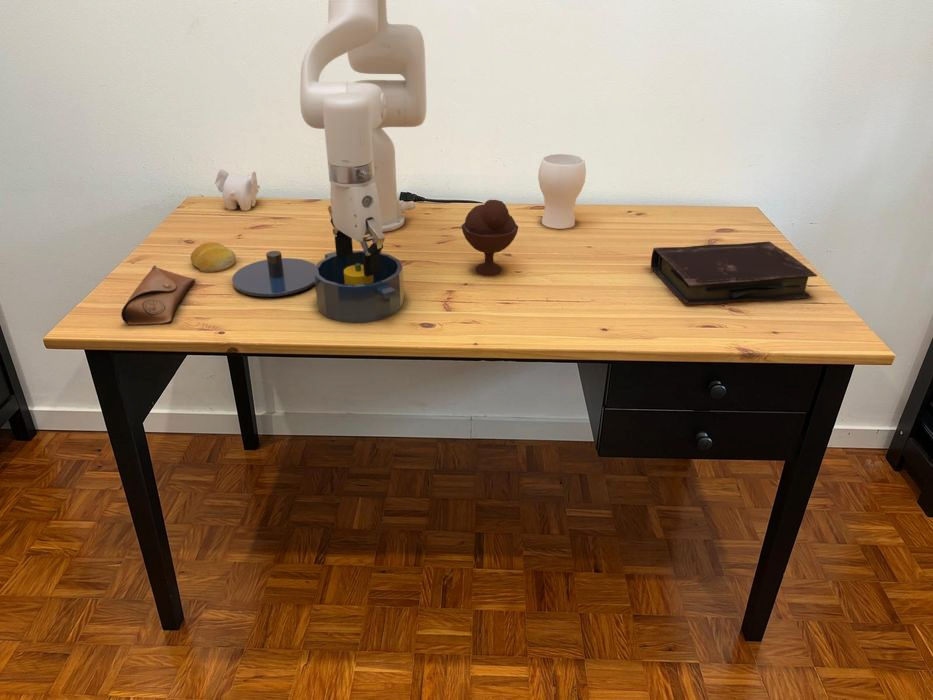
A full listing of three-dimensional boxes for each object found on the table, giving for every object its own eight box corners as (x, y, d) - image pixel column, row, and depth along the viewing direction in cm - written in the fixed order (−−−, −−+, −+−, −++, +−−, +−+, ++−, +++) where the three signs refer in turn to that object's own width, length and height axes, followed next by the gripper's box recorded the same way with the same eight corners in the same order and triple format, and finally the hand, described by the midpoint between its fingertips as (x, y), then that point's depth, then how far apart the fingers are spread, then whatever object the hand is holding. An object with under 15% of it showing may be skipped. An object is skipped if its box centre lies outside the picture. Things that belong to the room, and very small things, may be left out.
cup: (588, 221, 171) (594, 157, 164) (568, 234, 163) (574, 169, 156) (548, 212, 176) (552, 150, 168) (527, 225, 168) (530, 161, 161)
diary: (649, 267, 148) (652, 244, 146) (762, 260, 152) (768, 238, 149) (686, 309, 132) (691, 284, 130) (813, 300, 136) (819, 276, 133)
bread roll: (205, 276, 143) (201, 257, 141) (186, 262, 148) (183, 244, 146) (244, 265, 147) (241, 247, 145) (225, 252, 153) (221, 234, 151)
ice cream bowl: (521, 263, 149) (525, 193, 142) (506, 285, 140) (509, 211, 133) (472, 256, 152) (473, 186, 145) (454, 277, 143) (454, 204, 136)
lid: (296, 256, 151) (293, 231, 148) (335, 284, 140) (333, 256, 137) (219, 276, 143) (214, 249, 140) (254, 307, 131) (250, 279, 128)
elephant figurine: (271, 198, 183) (267, 164, 178) (251, 215, 173) (245, 178, 168) (236, 196, 184) (230, 161, 180) (213, 212, 174) (207, 176, 169)
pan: (367, 273, 145) (365, 240, 141) (428, 312, 130) (427, 276, 127) (296, 293, 136) (291, 259, 133) (352, 337, 122) (349, 300, 119)
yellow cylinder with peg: (365, 291, 136) (362, 256, 133) (380, 301, 133) (377, 265, 129) (340, 299, 134) (337, 263, 130) (355, 309, 130) (352, 272, 126)
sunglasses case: (173, 321, 125) (145, 291, 122) (141, 340, 127) (113, 312, 124) (197, 277, 141) (173, 250, 138) (168, 295, 142) (144, 269, 139)
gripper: (398, 180, 117) (402, 276, 127) (345, 154, 129) (352, 243, 138) (358, 190, 113) (365, 287, 123) (306, 162, 125) (316, 253, 134)
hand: (358, 264), depth 130 cm, fingers open, 9 cm apart
